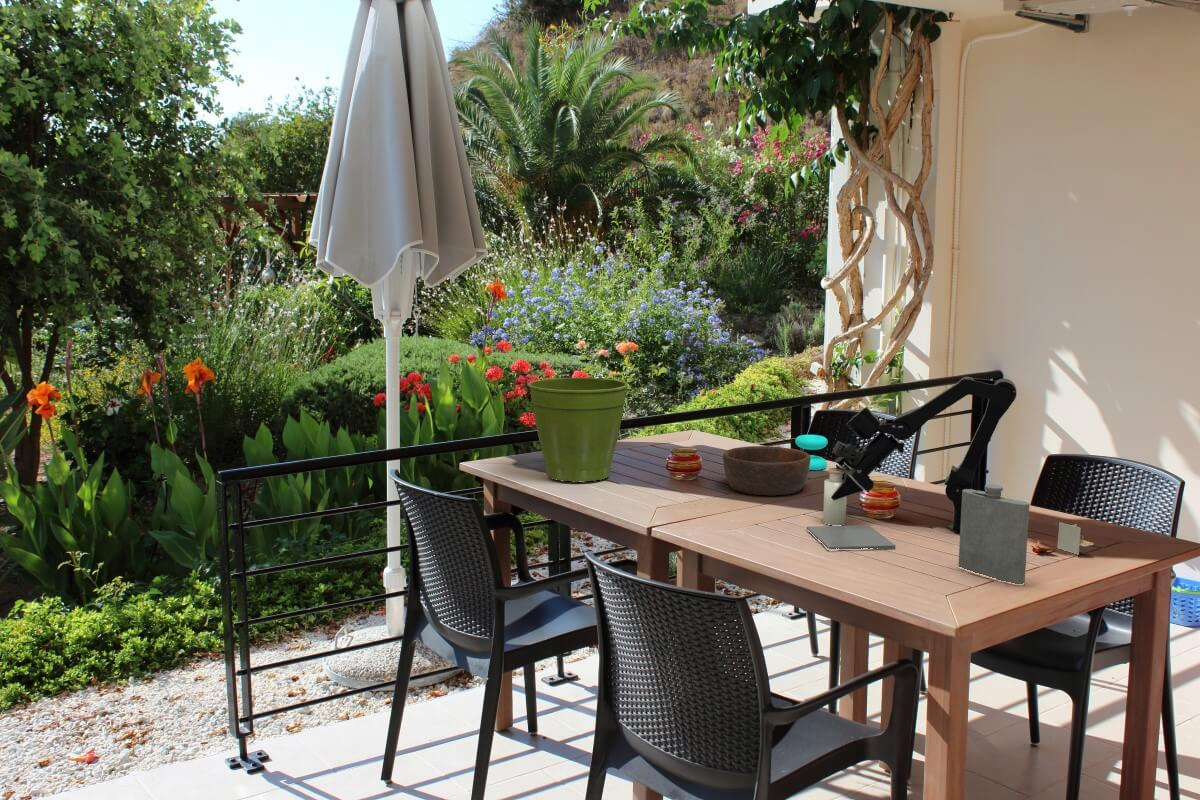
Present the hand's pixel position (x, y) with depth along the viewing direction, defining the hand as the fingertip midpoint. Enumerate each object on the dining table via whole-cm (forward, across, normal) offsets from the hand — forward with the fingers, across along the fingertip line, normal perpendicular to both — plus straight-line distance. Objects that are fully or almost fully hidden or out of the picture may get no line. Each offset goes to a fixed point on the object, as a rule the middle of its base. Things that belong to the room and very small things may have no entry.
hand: (829, 496), depth 274 cm
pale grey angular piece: (-30, +27, +41) cm, 57 cm away
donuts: (-1, -66, +11) cm, 67 cm away
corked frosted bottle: (+4, 0, +6) cm, 7 cm away
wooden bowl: (+12, -38, -2) cm, 40 cm away
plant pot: (+51, -54, -40) cm, 84 cm away
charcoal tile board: (+4, +15, +6) cm, 17 cm away
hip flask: (-13, +43, +23) cm, 50 cm away
